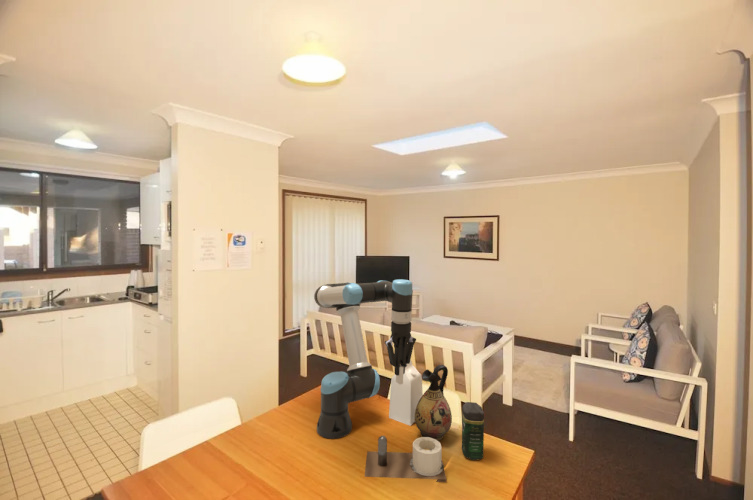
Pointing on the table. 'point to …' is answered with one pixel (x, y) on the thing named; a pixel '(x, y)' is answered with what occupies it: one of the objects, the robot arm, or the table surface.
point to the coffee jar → (472, 431)
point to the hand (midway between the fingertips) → (399, 382)
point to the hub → (424, 473)
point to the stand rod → (382, 451)
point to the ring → (427, 455)
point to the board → (395, 467)
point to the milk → (405, 395)
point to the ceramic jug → (433, 406)
